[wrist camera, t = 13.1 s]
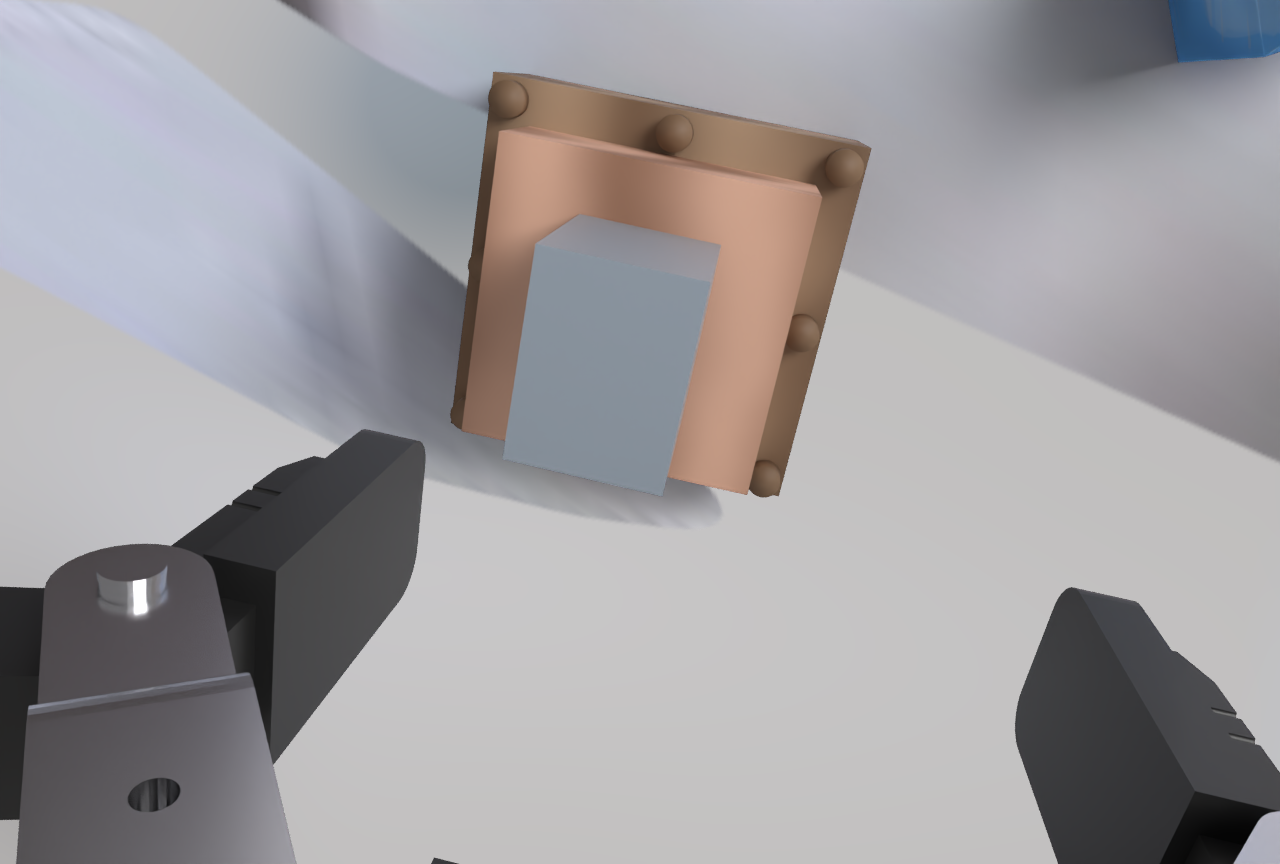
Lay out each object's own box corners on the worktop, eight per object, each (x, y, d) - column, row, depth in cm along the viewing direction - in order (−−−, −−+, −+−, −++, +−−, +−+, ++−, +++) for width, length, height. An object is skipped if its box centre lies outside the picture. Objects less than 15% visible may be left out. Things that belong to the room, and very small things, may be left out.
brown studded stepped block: (857, 140, 36) (885, 156, 27) (777, 449, 40) (780, 543, 32) (528, 74, 36) (457, 69, 28) (486, 385, 41) (415, 461, 33)
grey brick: (721, 244, 29) (710, 282, 23) (680, 422, 31) (662, 496, 25) (579, 213, 29) (535, 243, 23) (549, 393, 31) (502, 459, 26)
